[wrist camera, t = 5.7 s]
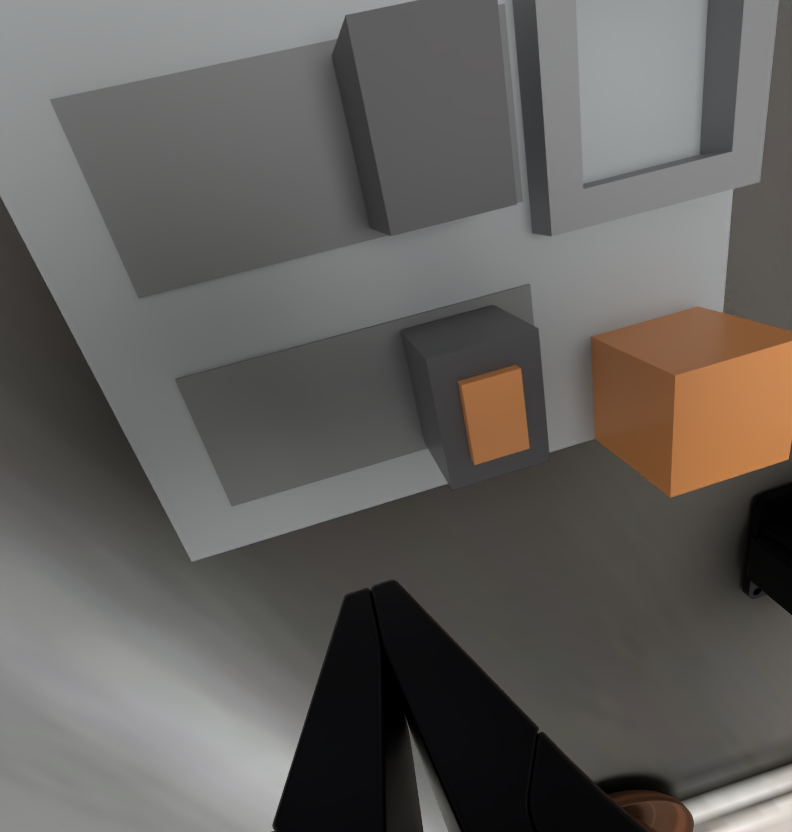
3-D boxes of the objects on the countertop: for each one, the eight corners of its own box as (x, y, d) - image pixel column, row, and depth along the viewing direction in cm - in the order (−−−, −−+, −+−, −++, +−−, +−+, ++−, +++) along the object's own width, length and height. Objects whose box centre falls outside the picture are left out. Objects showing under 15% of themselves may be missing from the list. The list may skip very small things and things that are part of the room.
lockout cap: (697, 306, 17) (808, 335, 13) (692, 409, 19) (788, 459, 15) (590, 336, 17) (675, 375, 13) (594, 438, 18) (670, 497, 15)
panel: (715, -155, 13) (913, -314, 9) (686, 387, 20) (790, 437, 16) (-72, -7, 11) (-278, -124, 7) (198, 535, 18) (173, 633, 14)
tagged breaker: (493, 304, 15) (544, 330, 12) (507, 418, 17) (555, 465, 14) (400, 330, 15) (429, 363, 12) (424, 442, 17) (455, 496, 14)
